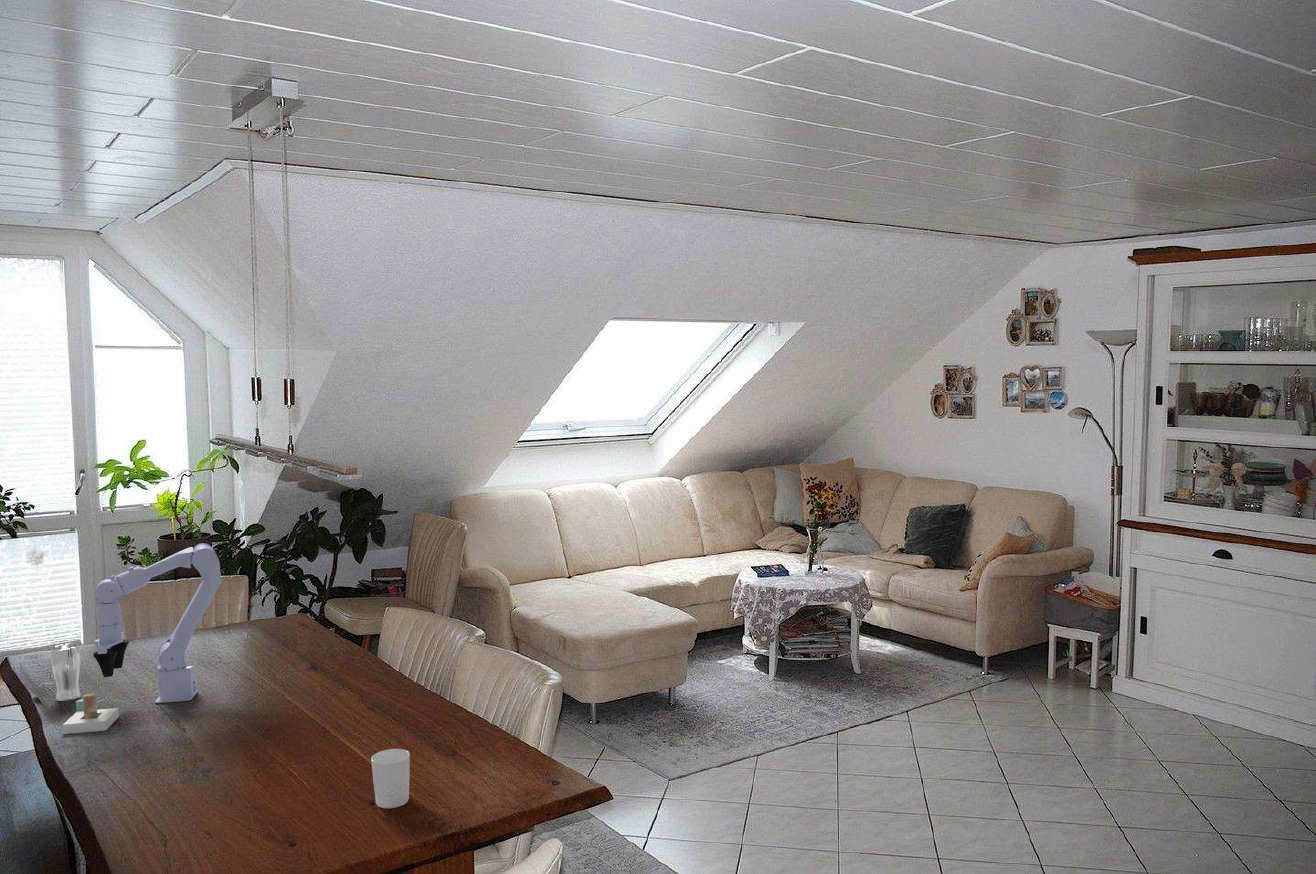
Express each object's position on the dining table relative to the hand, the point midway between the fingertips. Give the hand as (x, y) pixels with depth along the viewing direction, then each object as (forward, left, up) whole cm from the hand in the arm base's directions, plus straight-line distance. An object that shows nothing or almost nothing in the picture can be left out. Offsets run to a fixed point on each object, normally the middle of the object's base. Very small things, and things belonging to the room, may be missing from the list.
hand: (112, 672), depth 273 cm
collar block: (+1, +14, -10) cm, 17 cm away
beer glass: (+16, -12, -10) cm, 22 cm away
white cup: (-79, +80, -10) cm, 113 cm away
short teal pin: (+6, +6, -10) cm, 13 cm away
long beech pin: (+2, +14, -10) cm, 17 cm away
